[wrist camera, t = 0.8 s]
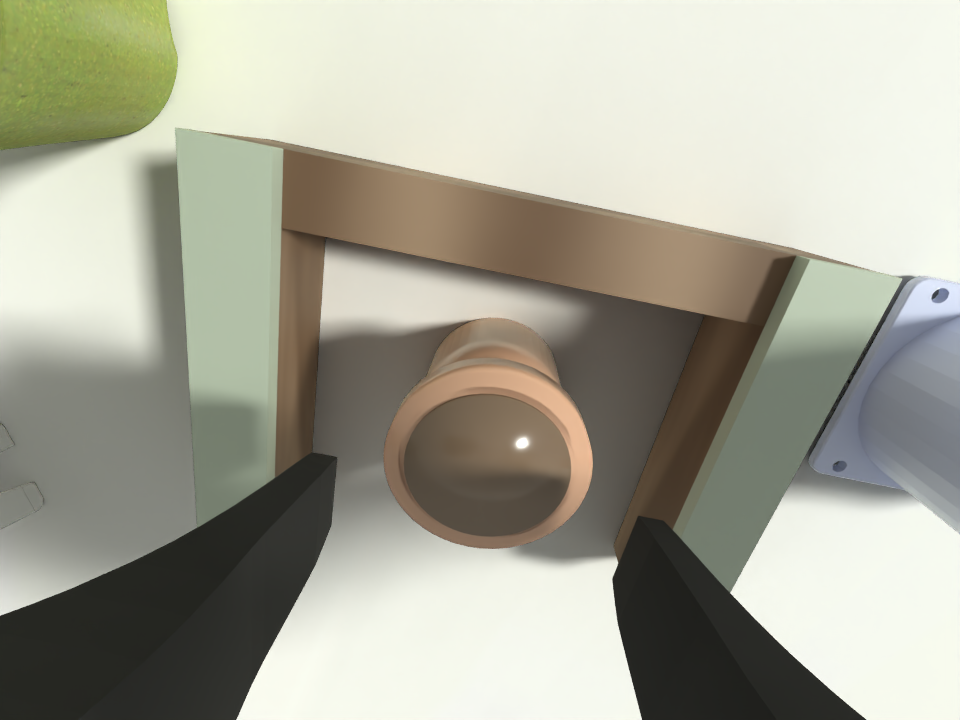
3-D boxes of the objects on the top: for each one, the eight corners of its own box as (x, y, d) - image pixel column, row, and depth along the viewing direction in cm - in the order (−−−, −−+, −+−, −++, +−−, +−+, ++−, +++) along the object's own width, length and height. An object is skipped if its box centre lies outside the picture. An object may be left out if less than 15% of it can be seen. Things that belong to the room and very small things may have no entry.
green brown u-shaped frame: (798, 249, 16) (902, 278, 12) (660, 554, 21) (697, 650, 17) (265, 138, 16) (175, 127, 11) (261, 477, 21) (198, 555, 17)
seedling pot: (585, 324, 17) (621, 399, 12) (547, 453, 20) (562, 568, 14) (432, 293, 17) (395, 354, 12) (411, 426, 20) (372, 531, 14)
